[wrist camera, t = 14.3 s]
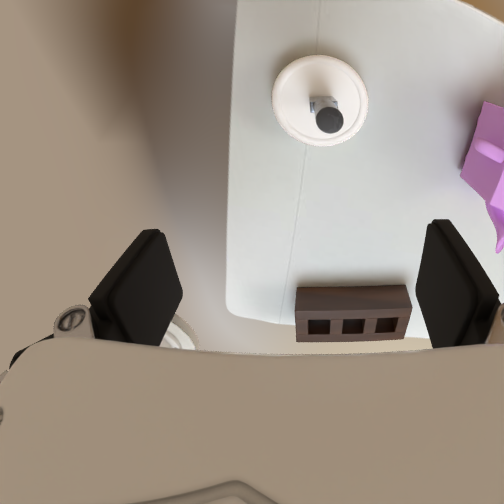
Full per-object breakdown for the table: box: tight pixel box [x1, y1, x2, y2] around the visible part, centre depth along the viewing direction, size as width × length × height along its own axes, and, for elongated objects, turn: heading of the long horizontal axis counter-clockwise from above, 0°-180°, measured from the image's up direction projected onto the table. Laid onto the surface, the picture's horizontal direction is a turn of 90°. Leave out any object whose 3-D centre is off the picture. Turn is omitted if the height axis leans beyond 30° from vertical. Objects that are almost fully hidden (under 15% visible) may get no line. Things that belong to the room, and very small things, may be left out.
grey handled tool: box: [309, 96, 344, 134], centre depth 23 cm, size 2×2×12 cm
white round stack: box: [272, 55, 368, 146], centre depth 29 cm, size 10×10×4 cm
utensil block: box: [295, 285, 412, 342], centre depth 44 cm, size 7×17×5 cm, turn 98°
